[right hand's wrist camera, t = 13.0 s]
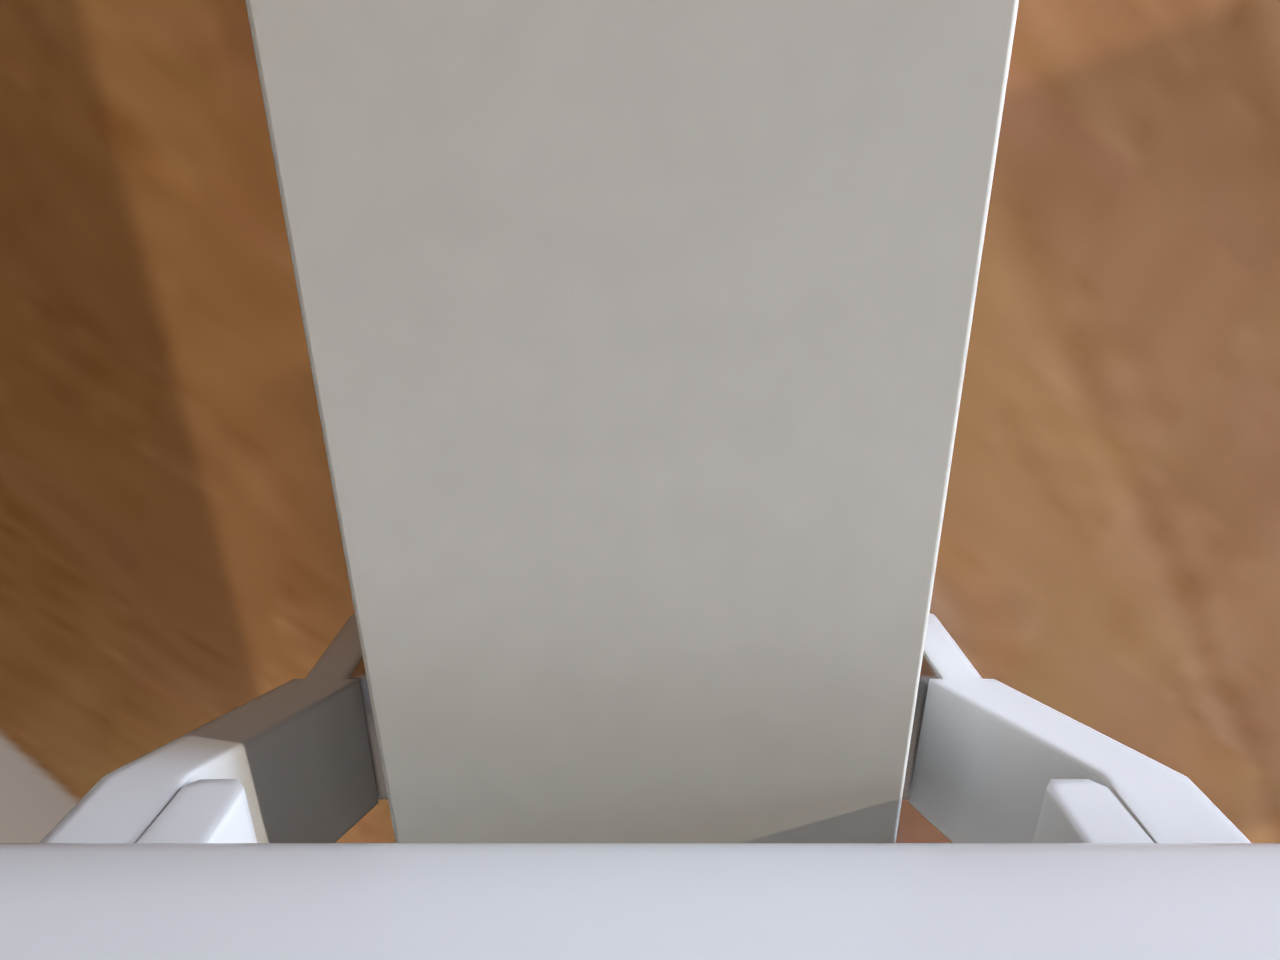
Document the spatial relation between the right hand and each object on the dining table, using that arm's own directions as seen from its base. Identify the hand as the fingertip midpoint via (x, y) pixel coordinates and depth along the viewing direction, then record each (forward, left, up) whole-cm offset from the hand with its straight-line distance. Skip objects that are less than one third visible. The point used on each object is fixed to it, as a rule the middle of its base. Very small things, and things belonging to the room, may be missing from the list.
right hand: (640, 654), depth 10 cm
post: (-3, -25, -3) cm, 26 cm away
